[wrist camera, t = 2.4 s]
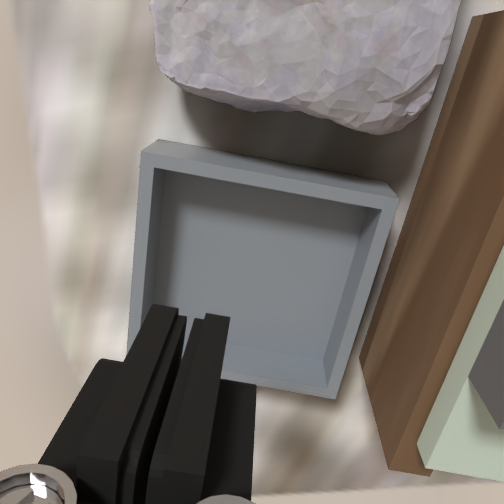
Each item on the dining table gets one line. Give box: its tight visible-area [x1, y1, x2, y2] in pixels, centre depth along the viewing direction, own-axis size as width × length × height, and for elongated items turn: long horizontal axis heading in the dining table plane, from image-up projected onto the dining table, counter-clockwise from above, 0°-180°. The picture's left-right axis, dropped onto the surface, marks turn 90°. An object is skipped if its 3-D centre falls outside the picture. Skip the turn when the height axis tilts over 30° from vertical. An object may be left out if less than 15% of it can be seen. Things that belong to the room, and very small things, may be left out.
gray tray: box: [126, 139, 400, 399], centre depth 19 cm, size 9×9×2 cm
